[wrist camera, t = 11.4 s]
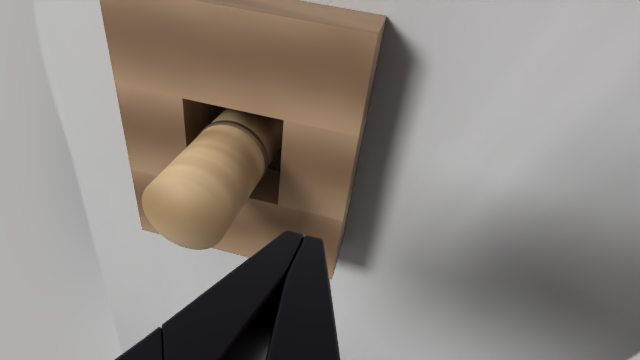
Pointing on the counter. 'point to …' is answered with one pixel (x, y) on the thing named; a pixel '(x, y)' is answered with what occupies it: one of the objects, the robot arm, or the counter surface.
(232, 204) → the peg
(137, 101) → the board
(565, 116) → the counter surface
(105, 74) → the counter surface
